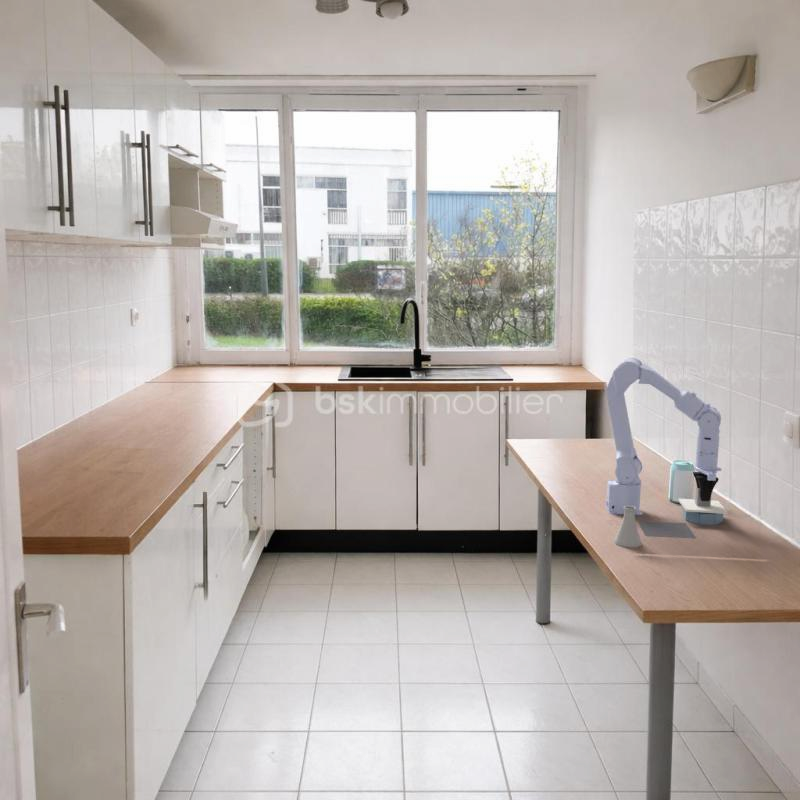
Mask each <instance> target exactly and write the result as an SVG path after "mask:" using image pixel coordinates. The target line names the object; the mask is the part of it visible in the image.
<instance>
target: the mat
mask: <svg viewBox="0 0 800 800" xmlns="http://www.w3.org/2000/svg"><path fill="white" fill-rule="evenodd" d="M637 522H638V526H639V527H640V529H641V530H642V532H643V534H644V536H645V537H660V538H661V537H662V538H682V539H683V538H685V539H696V538H697V537H696V535H695V534H694V533H693V531H692V530H691V528H690V527H689V526H688V524H687V523H686V522H669V521H668V522H667V521H644V520H643V521H642V520H638V521H637Z"/></svg>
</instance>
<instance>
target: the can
mask: <svg viewBox="0 0 800 800" xmlns="http://www.w3.org/2000/svg"><path fill="white" fill-rule="evenodd" d="M694 468H695V465H694V463H693V461H689V460H683V459H681V460H678V459H677V460H674V461H672V464H671V466H670V467H669V483H668V499H669V500H670V501H671V502H672V503H677V504H680V502H679V501H678V498H679V499H694V489H695V477H694V475H693V472H696V470H695V469H694Z"/></svg>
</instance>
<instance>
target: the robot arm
mask: <svg viewBox="0 0 800 800" xmlns="http://www.w3.org/2000/svg"><path fill="white" fill-rule="evenodd" d="M638 380H639V381H638ZM636 381H638V384H641V385H650V386H652V387H653V388H655V389H656V390H658V391H659V392H661V393H662V394H664V395H665V396H667V397H668V398H670V400H672V401H674V402H673V403H674V408H676V409H677V410H678V411H679V412H680V413H682V414H684V415H685V416H686V417H688V418H689V419H690V420H692V421H693V422H697V425H698V434H697V438H696V439H697V440H696V443H697V444H696V455H695V465H694V469H695V472H693V475H694V481H695V483H696V484H695V485H696V488H700V498H701V501H709V500H710V497H711V498H712V494H713V491H714V488H715V486H716V485H717V483H718V482H719V480H720V479H719V477H717V473H718V472H721V471H722V468H721V466H718V459H719V447H720V435H719V434H720V432H721V431H720V426H721V421H722V415H721V413H720V411H719V410H718V409H717V407H714V406H711V404H710V403H706V402H704V401H703V400H702V399H700V398H698V396H697V393H696V392H694V391H692V392H690V391H689V390H680V389H679V388H677V387H676V386H675V385H674V384H673V383H671V382H670V381H669V380H668V379H666V378H665V377H664V376H663V375H661V374H660V373H659V372H658V371H656V370H655V369H653V368H652V367H651V366H649V365H648V364H646V363H643V362H642V361H641V360H639V359H638V358H635V357H631V358H627V359H626V360H624V361H623V362H621V363H620V364H618V366H617V367H616V368H615V369H614V370H613V371H612V374H611V378H610V379H609V381H608V384H607V387H606V388H605V395H606V400H607V406H608V411H609V417H610V422H611V428H612V431H613V440H614V444H615V449H616V454H615V455H616V456H615V460H616V467H615V471H614V474H615V479H614V480H608V481H607V482H606V495H605V497H606V498H605V507H606V509H607V512H608V514H615V515H616V514H617V515H624V508H623V507H624V506H634V507H636V510H635V515H636V516H637V515H640V516H641V515H643V512H642V510H641V508H640V505H641V491H642V490H641V487H642V479H640V476H639V475H640V474H641V472H642V470H643V464H642V462H641V460H640V458H639V457H638V454H637V451H636V448H635V446H634V442H633V435H632V431H631V430H632V429H631V426H630V425H631V424H630V418H629V414H628V408H627V403H626V402H627V401H626V396H625V393H626V391H627V390H628V388H629V387H630V386H631V385H633V384H634V383H636Z"/></svg>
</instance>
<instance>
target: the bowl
mask: <svg viewBox="0 0 800 800" xmlns="http://www.w3.org/2000/svg"><path fill="white" fill-rule="evenodd" d="M682 517H683V519H684V521H686V522H689V523H693V524H696V525H706V526H717V525H718V524H721V523H723V522H724V514H719V513H702V512H686V510H685V509H684V508H683V507H682Z"/></svg>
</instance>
